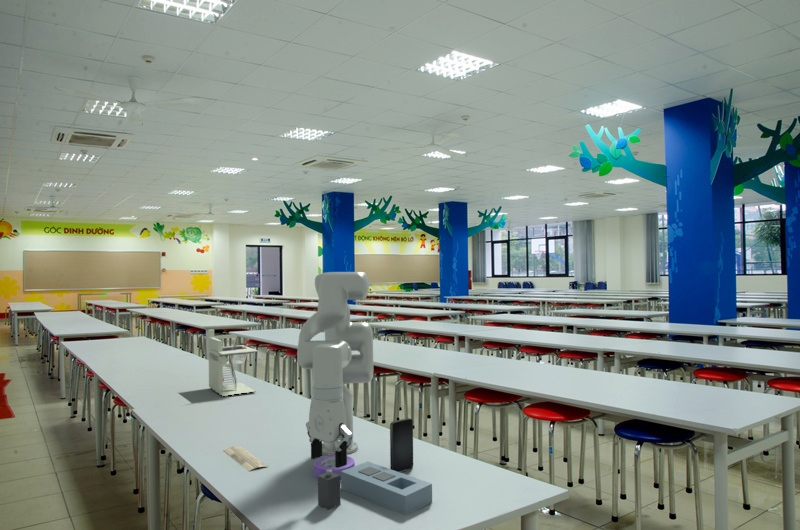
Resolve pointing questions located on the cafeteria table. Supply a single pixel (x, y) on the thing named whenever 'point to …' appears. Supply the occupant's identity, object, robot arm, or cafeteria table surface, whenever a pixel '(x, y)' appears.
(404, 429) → the phone
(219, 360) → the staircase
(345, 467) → the masking tape
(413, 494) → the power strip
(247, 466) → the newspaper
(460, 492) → the cafeteria table surface
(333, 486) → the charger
